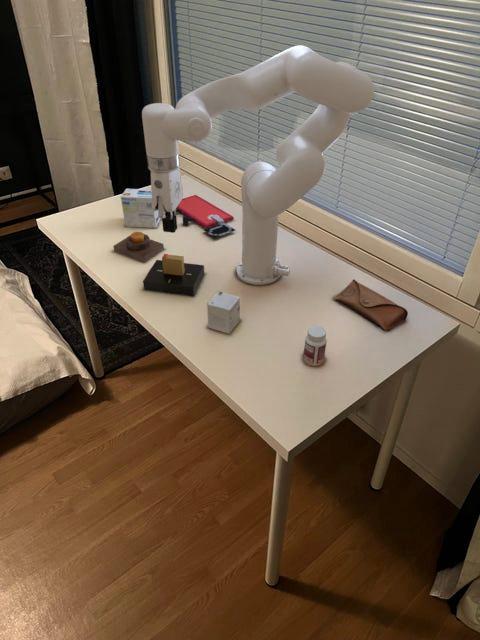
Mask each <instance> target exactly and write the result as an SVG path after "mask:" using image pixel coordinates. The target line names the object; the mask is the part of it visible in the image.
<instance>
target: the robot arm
mask: <svg viewBox="0 0 480 640" xmlns="http://www.w3.org/2000/svg"><path fill="white" fill-rule="evenodd" d="M294 93H296V94H297V95H299V96H300V97H302V98H304V99H306V100H309V101H311V102H313V103H316V104H318V105H317V107H316V108H315V110H314V112H312V114H311V115H309V117H307V119H306V120H304V122H302V123H301V124H300V125H298V127H297V128H296V129H295V130H294V131H292V132H291V133H290V134H289V135H288V136H286V137H285V138H284V139H283V140H282V141H281V142H280V143H279V144H278V146H277V148H276V151H275V152H276V153H275V157H276V161H277V163H278V168H277V169H276V168H275V167H274V166H273V165H272V164H270V163H268V162H265V161H255V162H252V163H250V164H249V165H248V166H247V167H246V168H245V169H244V170H243V172H242V173H243V174H242V175H241V180H240V191H241V204H242V205H241V206H242V224H241V225H242V227H241V229H242V230H241V231H242V232H241V262H240V263H239V264H238V265H237V266H236V276H237V278H239V279H240V280H241V281H242V282H244V283H246V284H248V285H249V284H250V285H255V286H256V285H257V286H263V285H269V284H272V283H274V282H276V281H278V279H280V276H283V277H288V278H289V276H290V274H291V273H290V272H291V270H290V269H289V265H287V264H282V263H280V258H279V257H277V248H278V233H279V232H278V231H279V218H280V217H279V216H280V215H282V214H283V213H284V212H286V211H287V210H288V209H289V208H291V207H292V206H293V205H294V204H296V203H297V202H298V201H299V200H300V199H302V198H303V197H304V196H305V195H306V194H307V193H309V192H310V191H311V190H312V189H313V188H314V187H316V185H318V183H319V182H320V181H321V179H322V178H323V175H324V174H325V171H326V158H325V156H324V153H325V152H326V151H327V150H328V149H329V148H330V147H331V146H333V144H334V143H335V142H337V140H338V139H339V138H340V137H341V136H342V134H343V133H344V132H345V130H346V128H347V126H348V125H349V121H350V119H351V115H352V114H358V113H361V112H362V111H364V110H365V109H367V108H368V106H370V104H371V102H372V101H373V98H374V95H375V94H374V93H375V87H374V83H373V80H372V79H371V77H370V76H369V75H368V74H367V73H365V72H364V71H362V70H360V69H359V68H357V67H355V66H354V65H353V64H351V63H347V62H346V61H336V62H335V61H334V60H330V59H329V58H327V57H324V56H322V55H321V54H319V53H317V52H316V51H314V50H313V49H312V48H309V47H308V46H305V45H301V44H300V45H295V46H292V47H289V48H287V49H285V50H284V51H281V52H279V53H278V54H275V55H274V56H271V57H270V58H267V59H266V60H264V61H261V62H260V63H258V64H255V65H254V66H252V67H250V68H247V69H246V70H244V71H242V72H239V73H234V74H232V75H229V76H225V77H223V78H219V79H216V80H213V81H210V82H208V83H206V84H204V85H202V86H200V87H199V88H196V89H194V90H193V91H190V92H188V93H187V94H185V95H184V96H182V97H181V98H180V99H179V100H178V102H177V103H176V105H175V107H174V106H173V105H172V104H169V103H164V102H154V103H150V104H147V105H145V106H144V107H143V108H142V110H141V121H142V127H143V135H144V136H143V137H144V145H145V152H146V162H147V169H148V170H149V171H150V187H151V188H150V189H151V191H152V201H153V207H154V210H155V211H157V210H158V217H159V218H161V224H162V231H163V232H165V233H173V234H174V233H176V231H177V229H178V219H177V213H176V207H177V206H178V205H179V203H180V202H181V200H182V199H183V198H184V188H183V179H182V173H181V168H180V167H181V162H180V150H179V149H180V148H179V141H182V142H192V143H194V142H195V143H196V142H201V141H204V140H205V139H207V138H208V137H209V136H210V135H211V132H212V129H213V121H212V118H214V117H217V116H219V115H222V114H224V113H227V112H230V111H231V112H232V111H249V112H251V111H252V112H253V111H259V110H261V109H264V108H265V107H267V106H270V105H271V104H273V103H275V102H277V101H279V100H282V99H283V98H285V97H287V96H289V95H291V94H294Z"/></svg>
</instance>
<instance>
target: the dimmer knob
mask: <svg viewBox="0 0 480 640" xmlns="http://www.w3.org/2000/svg"><path fill="white" fill-rule="evenodd" d="M161 260H162V264H163V273H164V274H172V275H180V276H183V274H184V272H185V268H184V263H185V257H184V256H183V255H176V254H168V253H164V254H163V256H162V257H161Z"/></svg>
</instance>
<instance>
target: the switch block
mask: <svg viewBox="0 0 480 640" xmlns="http://www.w3.org/2000/svg"><path fill="white" fill-rule="evenodd" d="M143 234H144V241H143V242H140V243H133V242H131V237H130V235H128V236H127V237H125V238H123V239H122V240H121V241H118V242H117V243H116V244H114V245H113V251H114V253H117V254H120V255H122V256H125V257H128V258H131V259H133V260H137V261H140V262H142V263H146V262H149V260H151V259H153V257H155V256H157V255H158V254H160V253H162V251H164V250H165V245H164V243H162V242H160V241H156V240H153V239H150V236H149V235H148V234H145V233H143Z"/></svg>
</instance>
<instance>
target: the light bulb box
mask: <svg viewBox="0 0 480 640" xmlns="http://www.w3.org/2000/svg"><path fill="white" fill-rule="evenodd" d="M120 201H121V207H122V208H121V209H122V214H123V220H124V226H125V227H133V228H150V229H151V228H153V229H157V227H158V225H159V223H160V222H161V220H162V218H159V217H158V210H157V211H155V210H154V207H153V201H152V191H151V188H150V189H148V188H147V189H146V188H145V189H143V188H140V189H139V188H126V189H124V191H123V192H122V194H121V196H120Z"/></svg>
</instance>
